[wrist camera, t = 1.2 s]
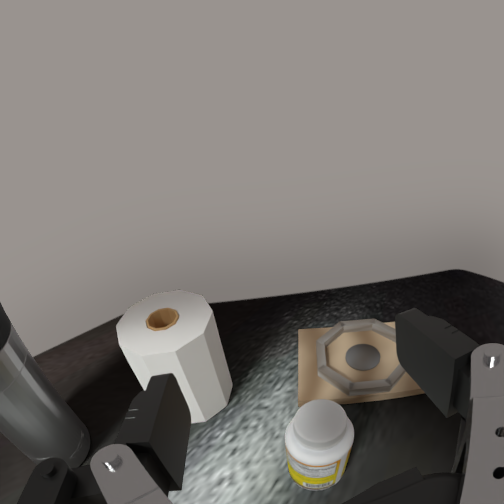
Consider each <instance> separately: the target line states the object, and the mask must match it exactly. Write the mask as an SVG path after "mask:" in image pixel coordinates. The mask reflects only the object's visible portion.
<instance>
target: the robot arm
mask: <svg viewBox="0 0 504 504" xmlns="http://www.w3.org/2000/svg"><path fill="white" fill-rule="evenodd" d="M395 330H396V351H397V357H398V360H399V363H400V365H401V366H402V368H403V369H404V370H405V371H406V372H407V373H408V374H409V375H410V377H411V378H412V379H413V380H414V381H415V382H416V383H417V384H418V386H419V387H420V388H421V389H422V390H423V391H424V392H425V393H426V395H427V396H428V397H429V398H430V399H431V400H432V401H433V403H434V404H435V405H436V406H437V407H438V408H439V410H440V411H441V412H442V413H443V414H444V415H445V416H446V418H448V417H450V416H452V415H454V414H455V413H457V412H459V413H460V414H461V419H460V426H459V434H458V441H457V447H456V454H455V459H454V464H453V469H452V473H435V474H428V475H423V476H422V475H421V474H420V472H419V470H418V469H417V467H415V468H412V469H410V470H408V471H406V472H403V473H401V474H399V475H396V476H394V477H392V478H389V479H387V480H384V481H382V482H379V483H377V484H375V485H374V486H372V487H371V488H369V489H367V490H366V491H364V492H362V493H360V494H359V495H357V496H355V497H353V498H352V499H350V500H348V501H346V502H344V503H342V504H504V345H501V344H497V343H489V344H484V345H479V344H478V343H476V342H475V341H474V340H472V339H471V338H469V337H468V336H466V335H465V334H464V333H462V332H461V331H458V329H456V328H455V327H453V326H451V324H449V323H448V322H446V321H445V320H443V319H441V318H437V317H433V316H429V317H428V316H427V315H425V314H424V313H422V312H421V311H420V310H418V309H417V308H413V309H410V310H408V311H405V312H402V313H399V314H397V315H396V317H395ZM128 410H129V411H127V414H126V416H125V419H124V421H123V423H122V426H121V428H120V431H119V433H118V435H117V438H116V440H115V443H114V444H113V445H109V446H106V447H104V448H102V449H101V450H99V451H98V452H97V453H96V454H95V455H94V456H93V458H92V460H91V463H90V465H86V466H81V467H79V466H80V465H81V463H82V462H83V461H84V460H85V458H86V456H87V454H88V452H89V449H90V434H89V431H88V429H87V427H86V426H85V425H84V423H83V422H82V421H81V420H80V419H79V418H78V416H77V415H76V414H75V413H74V412H73V411H72V409H71V408H70V407H69V406H68V404H67V403H66V402H65V401H64V399H63V398H62V397H61V396H60V394H59V393H58V392H57V390H56V389H55V388H54V386H53V385H52V384H51V382H50V381H49V380H48V378H47V377H46V376H45V374H44V373H43V371H42V370H41V369H40V367H39V366H38V364H37V363H36V361H35V360H34V358H33V357H32V356H31V354H30V352H29V351H28V349H27V348H26V347H25V345H24V343H23V342H22V340H21V339H20V337H19V335H18V334H17V332H16V330H15V329H14V327H13V325H12V323H11V322H10V320H9V318H8V316H7V315H6V313H5V311H4V309H3V307H2V305H1V303H0V432H1V433H2V434H3V435H4V436H5V437H7V438H8V439H9V440H10V441H11V442H12V443H13V444H14V445H15V446H16V447H17V448H18V449H20V450H21V451H22V452H23V453H24V454H25V455H26V456H27V457H29V458H30V459H31V460H32V461H33V462H35V463H36V464H37V466H36V467H35V469H34V470H33V472H32V474H31V476H30V478H29V480H28V482H27V484H26V486H25V488H24V490H23V492H22V494H21V496H20V498H19V500H18V503H17V504H172V502H171V501H170V500H169V499H168V493H169V491H177V490H182V482H183V475H184V468H185V460H186V453H187V447H188V440H189V433H190V426H191V414H190V410H189V407H188V404H187V402H186V400H185V398H184V395H183V393H182V391H181V389H180V386H179V384H178V382H177V379H176V377H175V376H174V374H173V373H167V374H161V375H155V376H152V377H151V378H150V380H149V383H148V385H147V388H146V390H145V391H141V392H140V393H139V394H138V395H137V396H136V397H135V398H134V399H133V400H132V402H131V404H130V407H129V409H128Z"/></svg>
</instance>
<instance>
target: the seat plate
mask: <svg viewBox="0 0 504 504" xmlns="http://www.w3.org/2000/svg"><path fill="white" fill-rule="evenodd" d="M298 333H299V369H298V407H301V406H303V405H304V404H306V403H308V402H310V401H313V400H317V399H326V400H331V401H334V402H336V403H337V404H351V403H361V402H370V401H378V400H386V399H393V398H400V397H406V396H412V395H418V394H424V393H425V392H424V391H423V390H422V389H421V388H420V387H419V386H418V384H417V383H416V382H415V381H414V380H413V379H412V378H411V377H410V375H409V374H408V373H407V372H406V371H405V370H404V369H403V368H402V366H401V365H400V363H399V360H398V357H397V351H396V330H395V322H388V323H382V322H380V321H378V320H376V319H364V320H352V321H340V322H339V323H337V324H336V325H335V326H334V327H329V328H313V329H298Z"/></svg>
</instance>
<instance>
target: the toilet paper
mask: <svg viewBox="0 0 504 504" xmlns="http://www.w3.org/2000/svg"><path fill="white" fill-rule="evenodd" d="M116 329H117V335H118V341H119V345H120V347H121V349H122V351H123V353H124V355H125V357H126V359H127V361H128V363H129V364H130V366H131V368H132V370H133V372H134V373H135V375H136V377H137V379H138V381H139V382H140V384H141V386H142V387H143V389H144V391H145V390H146V388H147V385H148V383H149V380H150V378H151V377H152V376H155V375H161V374H167V373H173V374H174V376H175V377H176V379H177V382H178V384H179V386H180V389H181V391H182V393H183V395H184V398H185V400H186V402H187V404H188V407H189V410H190V414H191V423H198V422H206V421H207V420H209V419H210V418H211V417H213V416H214V415H215V414H217V413H218V412H219V411H221V410H222V409H223V408H225V407H226V406H227V404H228V401H229V397H230V393H231V390H232V386H233V384H232V380H231V377H230V373H229V370H228V366H227V362H226V359H225V355H224V352H223V348H222V344H221V341H220V337H219V333H218V329H217V325H216V322H215V318H214V314H213V311H212V309H211V308H210V306H209V304H208V303H207V301H206V300H205V298H204V297H203V295H200V294H196V293H192V292H187V291H184V290H174V291H168V292H162V293H156V294H152V295H150V296H149V297H147V298H145V299H143V300H141V301H140V302H138V303H136V304H134V305H132V306H131V307H129V308H128V310H127V311H126V312H125V314H124V315H123V317H122V318H121V319H120V321H119V322H118V324H117V325H116Z"/></svg>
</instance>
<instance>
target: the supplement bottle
mask: <svg viewBox="0 0 504 504" xmlns="http://www.w3.org/2000/svg"><path fill="white" fill-rule="evenodd" d="M353 441H354V428H353V425H352V423H351V421H350V419H349V418H348V417H347V415H346V412H345V411H344V409H343V408H342V407H341V406H340V405H339V404H337V403H336V402H334V401H331V400H326V399H317V400H313V401H310V402H308V403H306V404H304V405H303V406H301V407H300V408H299V409H298V411H297V412H296V414H295V417H294V418H293V419H292V420H291V421H290V422H289V424H288V426H287V428H286V431H285V445H286V453H287V460H288V469H289V473H290V476H291V478H292V479H293V481H294V482H295V483H296V484H297V485H299V486H300V487H302V488H305V489H308V490H323V489H326V488H329V487H331V486H333V485H334V484H336V483H337V482H338V481H339V480H340V479H341V477H342V476H343V474H344V471H345V468H346V465H347V462H348V458H349V455H350V451H351V448H352V444H353Z"/></svg>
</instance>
